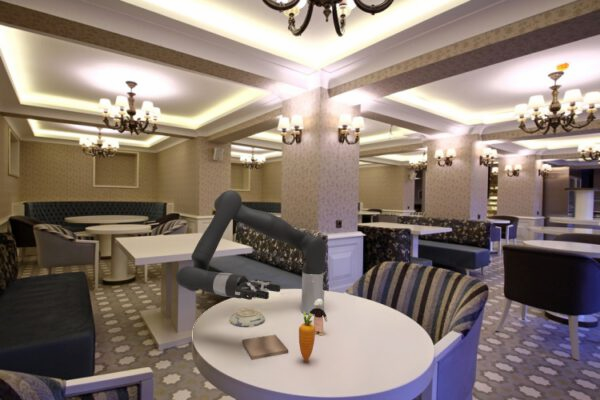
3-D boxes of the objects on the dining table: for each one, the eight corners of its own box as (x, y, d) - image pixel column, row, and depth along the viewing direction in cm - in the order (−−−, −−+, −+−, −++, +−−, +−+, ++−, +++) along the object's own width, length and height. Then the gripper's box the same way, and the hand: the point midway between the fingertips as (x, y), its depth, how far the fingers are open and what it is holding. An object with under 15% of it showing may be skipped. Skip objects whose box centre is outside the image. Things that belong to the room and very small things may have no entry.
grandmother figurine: (329, 332, 116) (330, 298, 116) (326, 336, 112) (327, 301, 112) (309, 329, 118) (310, 296, 118) (306, 333, 115) (307, 298, 115)
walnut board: (275, 337, 110) (275, 334, 110) (288, 352, 100) (288, 349, 100) (242, 342, 105) (242, 339, 105) (251, 359, 95) (251, 356, 95)
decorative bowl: (261, 330, 117) (269, 315, 132) (261, 320, 117) (269, 306, 132) (223, 327, 119) (235, 313, 134) (223, 317, 119) (235, 304, 134)
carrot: (297, 357, 97) (298, 309, 97) (313, 357, 97) (314, 309, 97) (298, 366, 92) (300, 315, 92) (315, 366, 92) (316, 315, 92)
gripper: (218, 278, 97) (264, 285, 92) (242, 269, 111) (284, 275, 105) (217, 302, 97) (263, 310, 92) (241, 290, 111) (283, 297, 105)
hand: (274, 291), depth 98 cm, fingers open, 8 cm apart
